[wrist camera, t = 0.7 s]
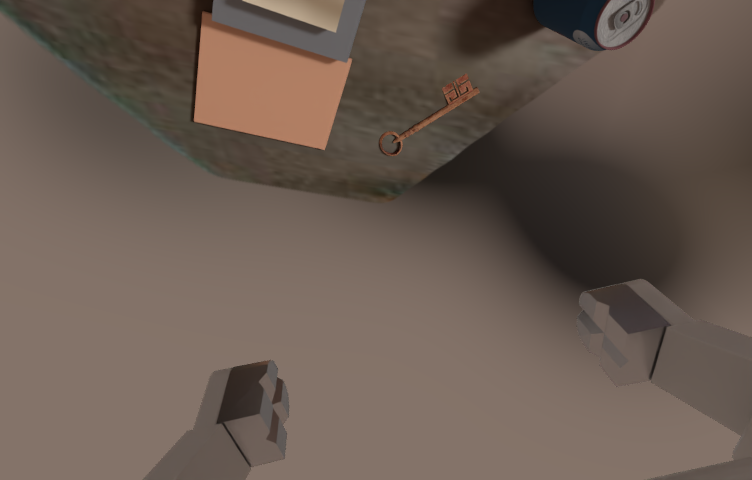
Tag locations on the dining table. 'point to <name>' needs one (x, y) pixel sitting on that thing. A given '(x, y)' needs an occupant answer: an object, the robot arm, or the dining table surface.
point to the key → (452, 105)
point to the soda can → (595, 20)
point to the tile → (307, 10)
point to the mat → (266, 86)
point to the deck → (293, 26)
